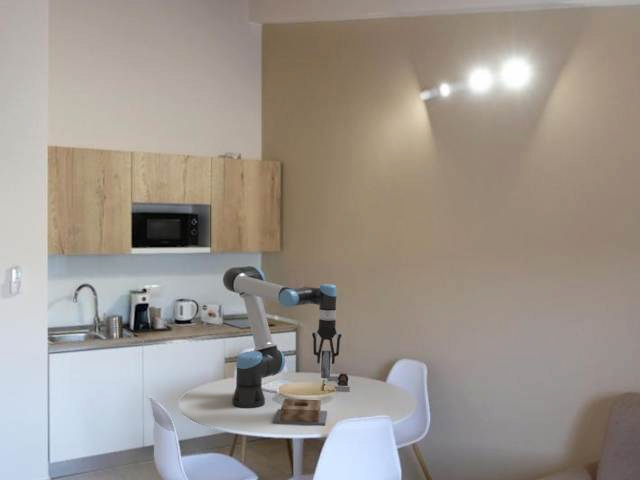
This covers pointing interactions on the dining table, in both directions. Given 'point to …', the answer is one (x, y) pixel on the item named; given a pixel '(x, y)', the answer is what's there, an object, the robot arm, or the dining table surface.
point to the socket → (301, 412)
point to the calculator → (274, 386)
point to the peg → (325, 364)
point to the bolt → (342, 380)
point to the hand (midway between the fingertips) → (325, 370)
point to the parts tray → (339, 388)
